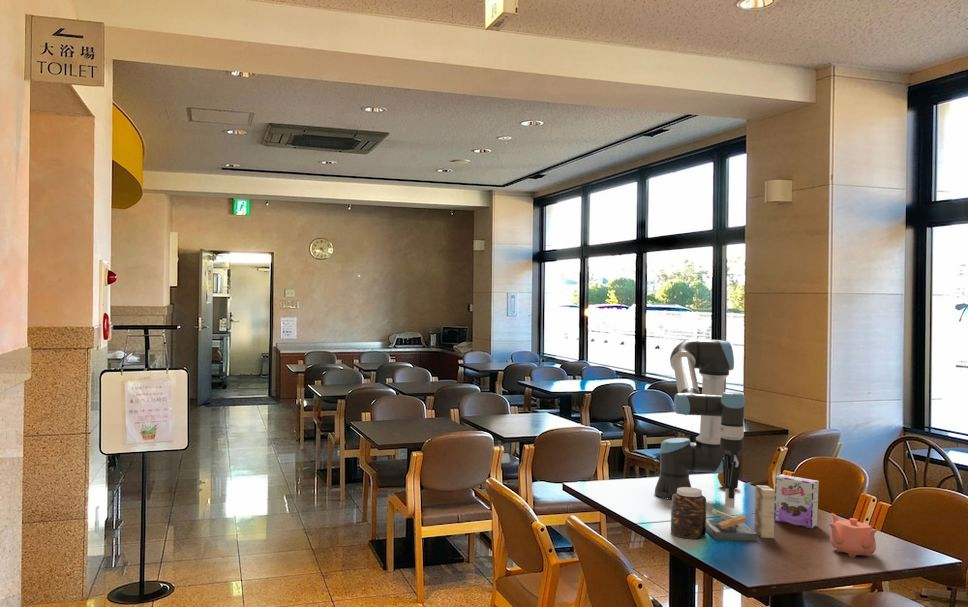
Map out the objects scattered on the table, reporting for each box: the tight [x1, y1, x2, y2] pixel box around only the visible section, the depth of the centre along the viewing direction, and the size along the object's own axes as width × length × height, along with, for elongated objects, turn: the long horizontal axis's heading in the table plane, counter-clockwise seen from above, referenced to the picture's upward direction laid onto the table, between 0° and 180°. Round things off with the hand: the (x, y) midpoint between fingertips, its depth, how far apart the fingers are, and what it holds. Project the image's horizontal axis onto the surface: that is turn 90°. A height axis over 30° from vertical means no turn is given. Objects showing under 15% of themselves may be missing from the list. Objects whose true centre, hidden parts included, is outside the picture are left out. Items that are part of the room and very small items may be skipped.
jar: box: [670, 486, 707, 540], centre depth 260 cm, size 12×12×15 cm
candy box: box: [774, 474, 820, 529], centre depth 279 cm, size 14×6×16 cm, turn 47°
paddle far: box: [711, 508, 735, 520], centre depth 266 cm, size 3×9×1 cm, turn 91°
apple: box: [717, 472, 726, 489], centre depth 332 cm, size 8×8×9 cm
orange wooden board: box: [718, 514, 748, 529], centre depth 259 cm, size 3×9×1 cm, turn 91°
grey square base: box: [706, 518, 758, 542], centre depth 262 cm, size 15×14×4 cm
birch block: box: [753, 484, 775, 539], centre depth 262 cm, size 7×4×16 cm, turn 0°
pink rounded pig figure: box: [827, 512, 879, 558], centre depth 245 cm, size 14×14×11 cm
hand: (729, 507), depth 262 cm, fingers closed
